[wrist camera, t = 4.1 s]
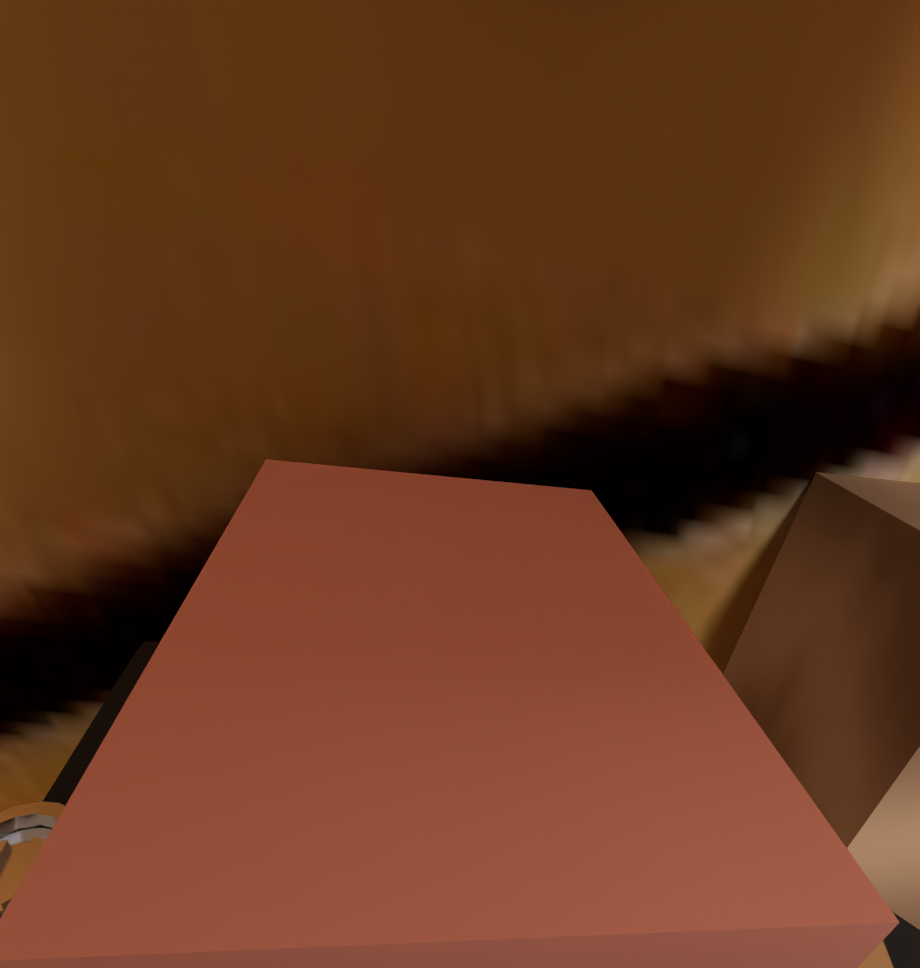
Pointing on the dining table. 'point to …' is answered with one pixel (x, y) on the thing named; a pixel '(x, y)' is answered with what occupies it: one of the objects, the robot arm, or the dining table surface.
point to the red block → (435, 760)
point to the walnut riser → (847, 670)
